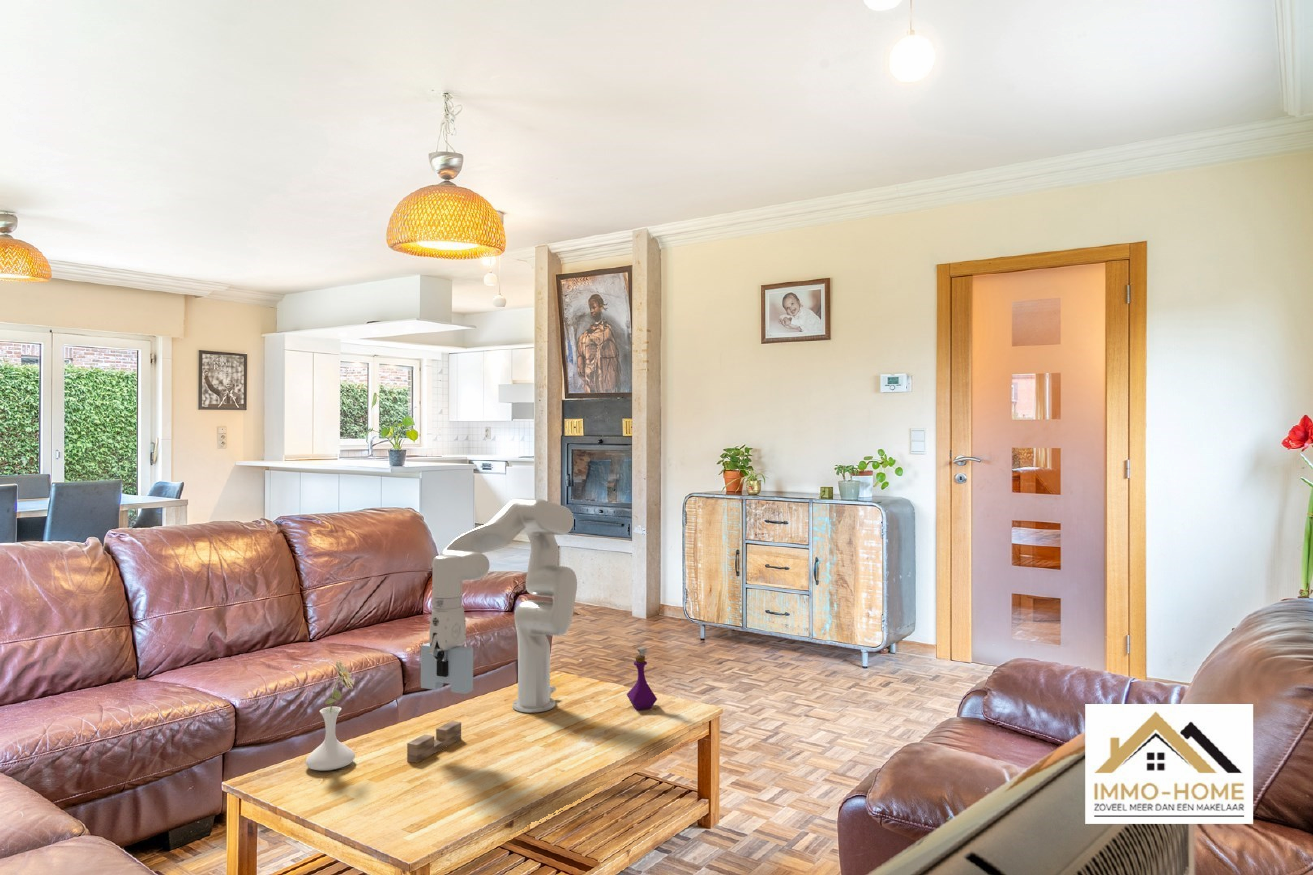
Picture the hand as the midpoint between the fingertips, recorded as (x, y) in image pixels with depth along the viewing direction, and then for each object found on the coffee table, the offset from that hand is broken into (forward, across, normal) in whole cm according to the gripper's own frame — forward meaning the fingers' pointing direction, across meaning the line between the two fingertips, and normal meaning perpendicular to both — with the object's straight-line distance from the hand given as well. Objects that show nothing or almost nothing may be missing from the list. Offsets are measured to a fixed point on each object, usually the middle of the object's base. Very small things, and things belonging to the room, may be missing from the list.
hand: (446, 673), depth 216 cm
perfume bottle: (+19, +50, -34) cm, 63 cm away
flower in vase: (+20, -19, +20) cm, 34 cm away
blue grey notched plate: (+4, 0, 0) cm, 4 cm away
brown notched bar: (+20, -1, +2) cm, 20 cm away
